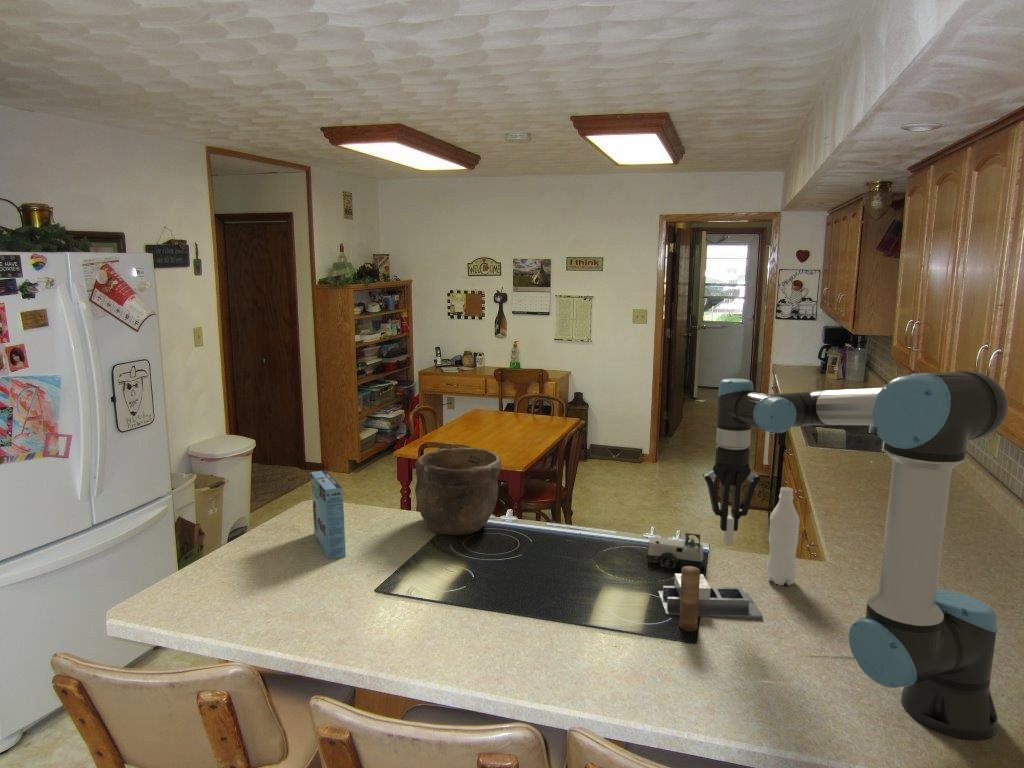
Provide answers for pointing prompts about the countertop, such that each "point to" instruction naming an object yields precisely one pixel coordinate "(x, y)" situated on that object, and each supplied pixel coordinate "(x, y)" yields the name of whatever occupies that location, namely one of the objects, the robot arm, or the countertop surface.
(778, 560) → the water bottle
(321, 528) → the blue carton box
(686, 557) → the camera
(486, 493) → the clay pot
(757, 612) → the mount
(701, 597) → the white rectangular block
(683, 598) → the dowel peg
